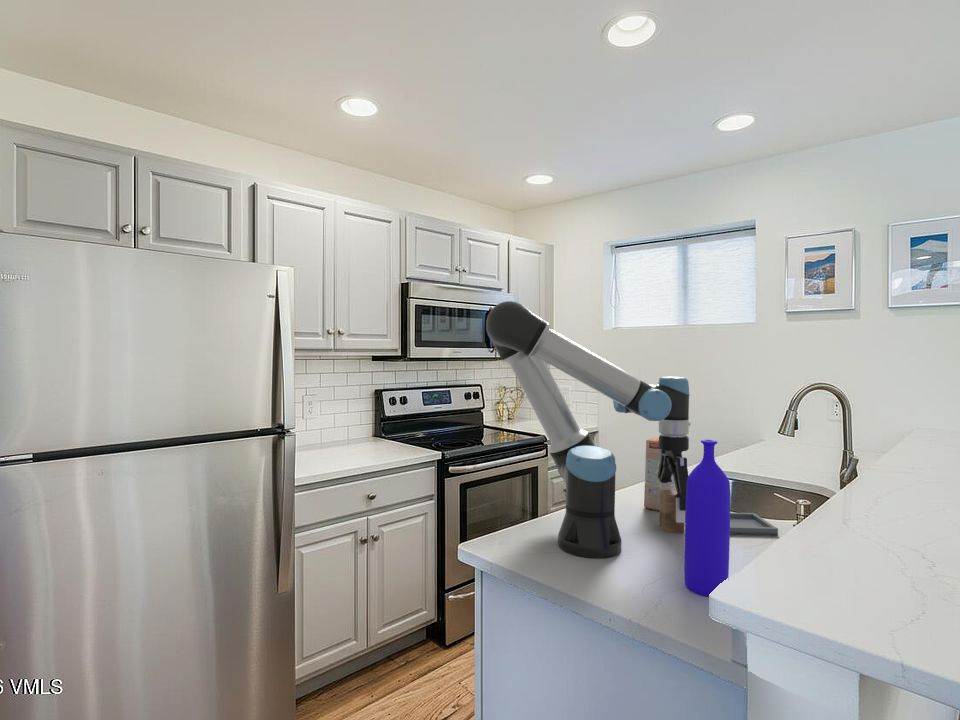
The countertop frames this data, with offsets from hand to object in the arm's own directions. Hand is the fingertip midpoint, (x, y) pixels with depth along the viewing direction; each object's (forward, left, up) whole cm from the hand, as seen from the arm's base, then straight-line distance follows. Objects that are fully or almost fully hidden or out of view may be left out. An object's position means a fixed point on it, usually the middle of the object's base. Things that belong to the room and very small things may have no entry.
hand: (673, 513), depth 141 cm
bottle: (-4, -35, -4) cm, 36 cm away
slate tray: (+20, +4, -4) cm, 20 cm away
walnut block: (0, 0, -4) cm, 4 cm away
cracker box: (+4, +22, -4) cm, 23 cm away
